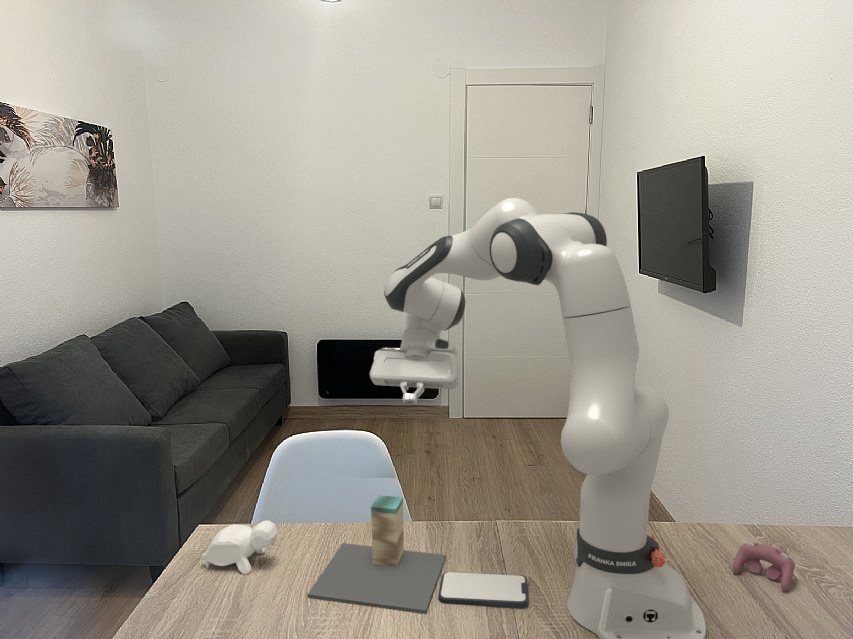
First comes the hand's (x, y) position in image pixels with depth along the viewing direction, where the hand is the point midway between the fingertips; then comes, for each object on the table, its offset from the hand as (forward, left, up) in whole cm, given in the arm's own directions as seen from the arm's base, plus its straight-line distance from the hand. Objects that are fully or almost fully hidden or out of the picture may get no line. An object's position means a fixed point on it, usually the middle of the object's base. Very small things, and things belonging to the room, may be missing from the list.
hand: (409, 402), depth 139 cm
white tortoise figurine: (+28, +25, -27) cm, 47 cm away
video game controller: (-71, +9, -27) cm, 76 cm away
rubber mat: (0, +24, -27) cm, 36 cm away
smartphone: (-20, +24, -28) cm, 42 cm away
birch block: (0, +18, -26) cm, 32 cm away
